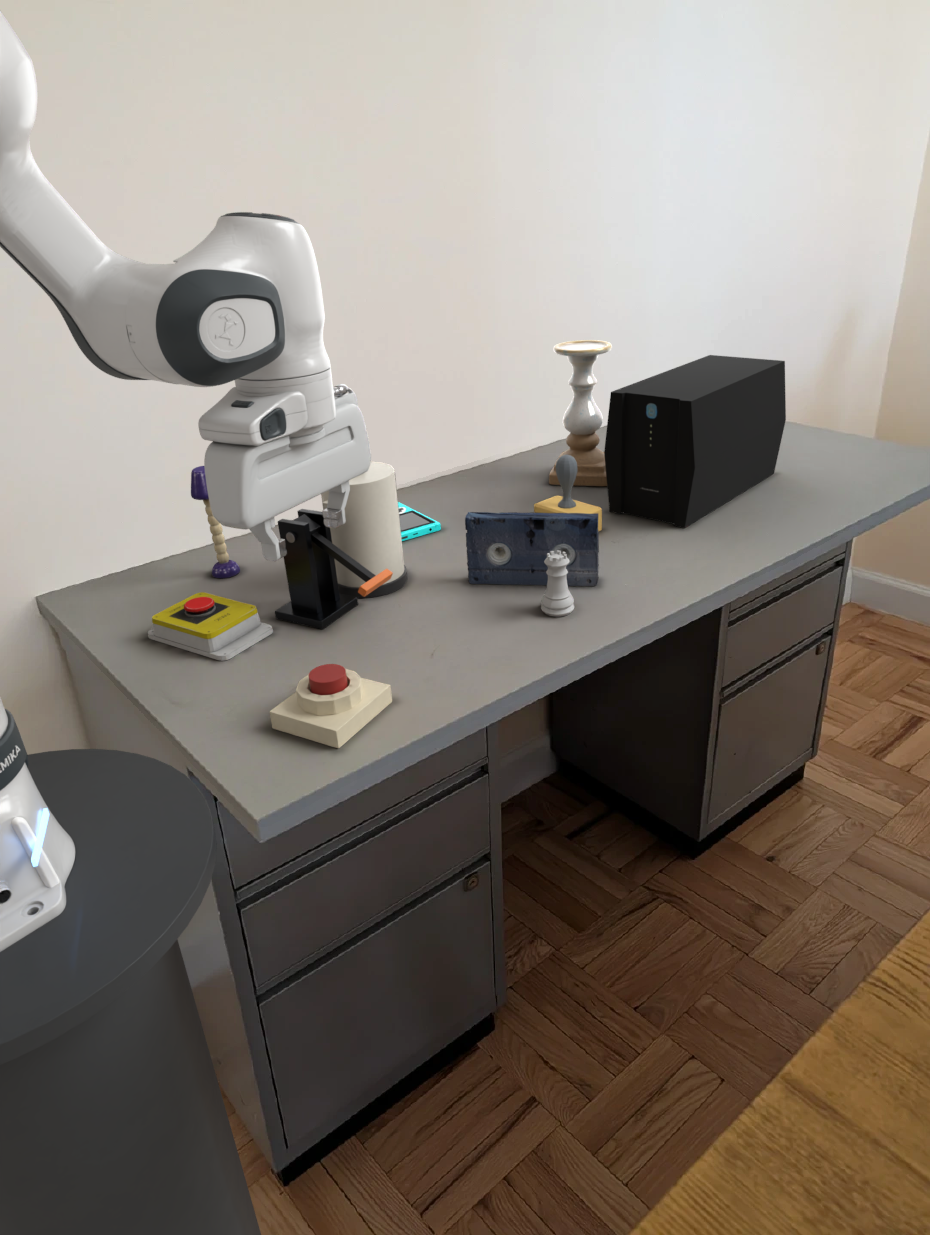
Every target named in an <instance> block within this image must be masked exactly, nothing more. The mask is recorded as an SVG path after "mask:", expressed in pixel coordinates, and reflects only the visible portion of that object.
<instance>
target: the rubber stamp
mask: <svg viewBox="0 0 930 1235" xmlns="http://www.w3.org/2000/svg"><path fill="white" fill-rule="evenodd" d="M557 459H558V458H557ZM557 459H556V461H557V462H556V461H555V462H556V474H557V478H558V480H559V483H560V485H559V486H560V487H561V490H562V495H554V496H551V497H549V498H546V499H544V500H541V501H538V502H536V503H534V504H533V513H586V514H594V513H598V532H600V531H602V529H603V509H602V508H601V507H600V506H597V505H594V504H590V503H587V502H583V501H579V500H577V499H573V498H572V495H571V494H572V490H573V486H574V485H573V484H574V481H575V478H576V475H577V462H576V460H575V459H574V457H572V456H570V455H563V456H561V457H560V458H559V459H558V460H557Z"/></svg>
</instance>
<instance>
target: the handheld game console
mask: <svg viewBox="0 0 930 1235" xmlns="http://www.w3.org/2000/svg"><path fill="white" fill-rule="evenodd" d="M398 507H399V517H400V526H401V539H402V542H405V541H408V540H412V539H414V538H415V539H416V538H418V537H422V536H425V535H429V534H433V533H435V532H439V531H441V530H442V528H441V526H442V524H441V522H439V521H437V520H435V519H433V518H431V517H429V516H427V515H425V514H423V513H421V512H419V511H417V510H415V509H413V508H411V507H410V506H408V505H405V504H404V503H401V502H400V501H398Z"/></svg>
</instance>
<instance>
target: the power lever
mask: <svg viewBox="0 0 930 1235" xmlns="http://www.w3.org/2000/svg"><path fill="white" fill-rule="evenodd" d="M293 521H300V522H306V523H309V527H310V534H311V541H312V542H313V543H314V544H315V545H317V546H318V547H319V548H321V549H322V550H324V551H325V552H326V553H328V554H329V555H330V556H332V557H333V558H334V559H336V560H337V561H338V562H340V563H341V564H342V565H344V566H345V567H346V568H348V569H349V570H350V571H352V572H353V573H354V574H356V575H357V576H358V577H360V578H361V579H362V580H364V581H365V582H366V583H364V584H363V585H361V586H360V588H359V590H358V593H359V594H361V595H362V596H363V597H365V596H366V595H368V594H369V593H371V592H372V591H374V590H375V589H377V588H378V587H379V586H381V585H382V584H384V583H385V582H387V581H388V580H390V579H391V577H392V574H393V573H392V572H391V571H390V570H388V569H385V570H384V571H382V572H381V573H379V574H378V575H374V574H373V573H372V572H370V571H369V570H368V569H366V568H365V567H364V566H362V565H361V564H360V563H358V562H357V561H355V560H354V559H353V558H351V557H350V556H349V555H347V554H346V553H345V552H343V551H342V550H341V549H339V548H338V547H337V546H335V545H334V544H333V543H331V542H330V541H329V540H327V539H326V538H325V537H323V536H322V535H320V534H319V533H318V532H319V529H320V525H318V524H317V523H316V522H314V521H313V520H312V519H310V518H309V517H308V516H306V515H305V514H304V515H302V516H300V517H298V516H297V517H296V518H294V519H293Z"/></svg>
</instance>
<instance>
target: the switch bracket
mask: <svg viewBox="0 0 930 1235" xmlns="http://www.w3.org/2000/svg"><path fill="white" fill-rule="evenodd" d="M304 514H305V515H306V516H308V517H309V518H310V519H312V520H313V521H314V522H316V523H317V524H318V525H320V529H319V532H318V533H319V534H320V535H322V536H323V537H325V538H326V539H327V540H329V541H330V542H331V543H332V538H331V530H330V528H329V527H326V526H325V524H324V517H323V513H322V511H319V510H314V509H306V508H300V509H298V510H297V518H298V517H300V516H302V515H304ZM277 527H278V533H279V539H285V543H286V547H285V549H286V550H287V554H286V556H284V557H283V562H284V568H285V575H286V582H287V586H288V592H289V598H290V601H288V602H287V603H286V604H284V605H282V606H281V607H279V608H277V609H276V610H274V615H275V619H276V620H280V621H285V622H287V623H288V622H289V623H293V624H297V625H301V626H305V627H310V628H314V629H319V630H324V629H326V628H327V627H328V626H330V625H331V624H332V623H334V622H335V621H337V620H339V619H340V618H341V617H343V616H344V615H346V614H347V613H349V612H350V611H351V610H353V609H354V608H356V607H357V606H358V605H359V600H358V598H357V597H353V596H349V595H344V594H339V588H338V581H337V574H336V566H335V559H334V558H333V557H332V556H330V555H329V554H328V553H326V552H325V551H324V550H322V549H321V548H319V547H318V546H317V545H315V544H314V543H313V542H312V541H311V534H310V527H309V523H306V522H300V521H294V519H293V520H292V519H288V518H287V519H286V518H281V519H279V520H277Z"/></svg>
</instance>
